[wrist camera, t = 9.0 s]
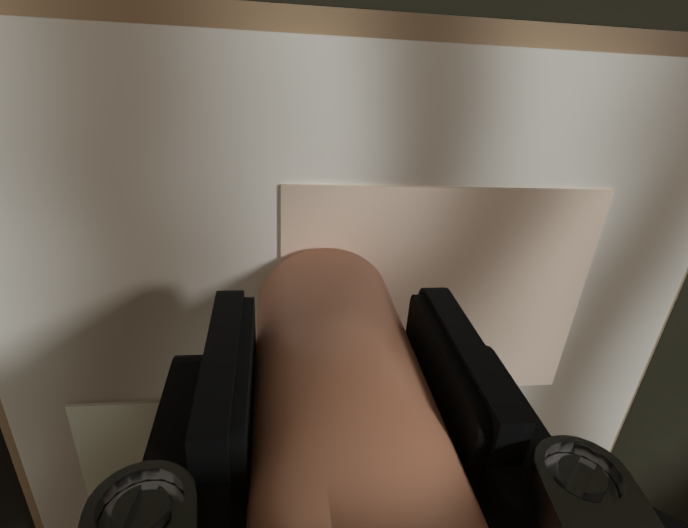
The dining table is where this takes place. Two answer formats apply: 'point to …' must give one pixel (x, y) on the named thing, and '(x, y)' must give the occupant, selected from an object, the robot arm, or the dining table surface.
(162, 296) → the worksheet
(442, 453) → the marker terracotta
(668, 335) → the dining table surface
